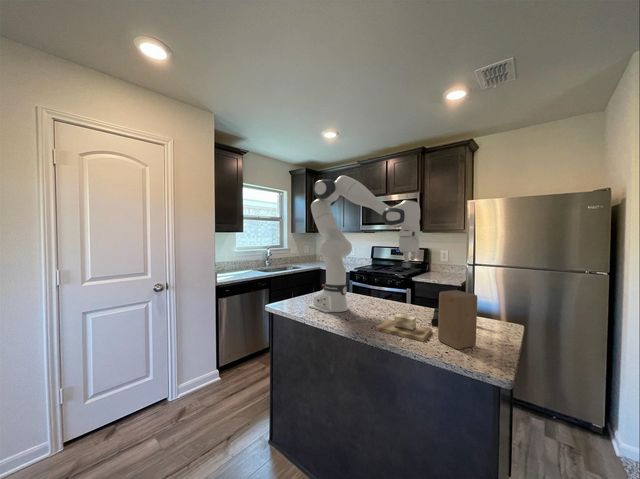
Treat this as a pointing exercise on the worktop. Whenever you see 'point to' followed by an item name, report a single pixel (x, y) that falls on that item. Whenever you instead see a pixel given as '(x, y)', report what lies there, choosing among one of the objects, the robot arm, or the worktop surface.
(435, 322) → the hand tool
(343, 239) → the robot arm
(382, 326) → the board
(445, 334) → the wooden block
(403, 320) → the sanding block
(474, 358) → the worktop surface
